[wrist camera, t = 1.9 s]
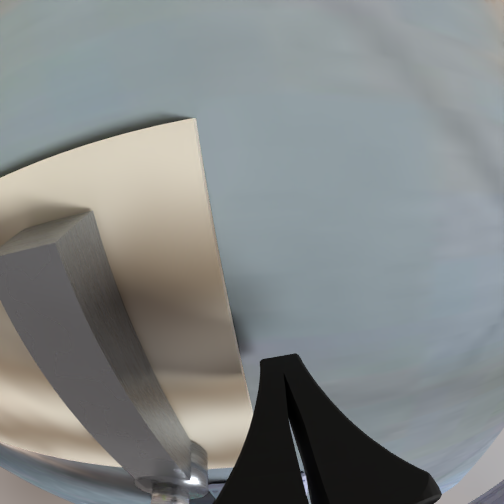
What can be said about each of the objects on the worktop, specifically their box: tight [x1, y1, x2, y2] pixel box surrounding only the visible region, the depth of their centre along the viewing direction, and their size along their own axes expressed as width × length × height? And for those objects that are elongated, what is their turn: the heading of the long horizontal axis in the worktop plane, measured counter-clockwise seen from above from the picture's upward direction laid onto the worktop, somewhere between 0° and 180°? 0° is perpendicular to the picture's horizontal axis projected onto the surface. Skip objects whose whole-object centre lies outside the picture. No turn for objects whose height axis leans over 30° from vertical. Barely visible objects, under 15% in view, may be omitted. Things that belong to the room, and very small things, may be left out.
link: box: [0, 210, 208, 504], centre depth 10 cm, size 16×4×4 cm, turn 7°
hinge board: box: [0, 118, 253, 469], centre depth 12 cm, size 19×24×1 cm
